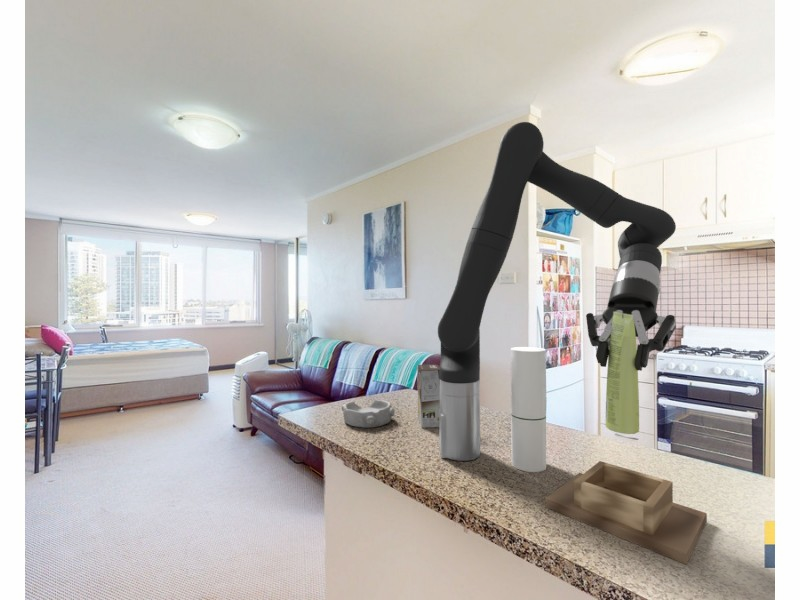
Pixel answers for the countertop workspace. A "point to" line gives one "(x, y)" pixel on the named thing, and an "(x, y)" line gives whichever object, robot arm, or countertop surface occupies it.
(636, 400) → the tube
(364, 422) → the dish
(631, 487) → the wooden box on board
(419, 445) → the countertop surface
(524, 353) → the cylindrical container
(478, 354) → the robot arm
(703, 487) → the countertop surface
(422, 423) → the coffee box
